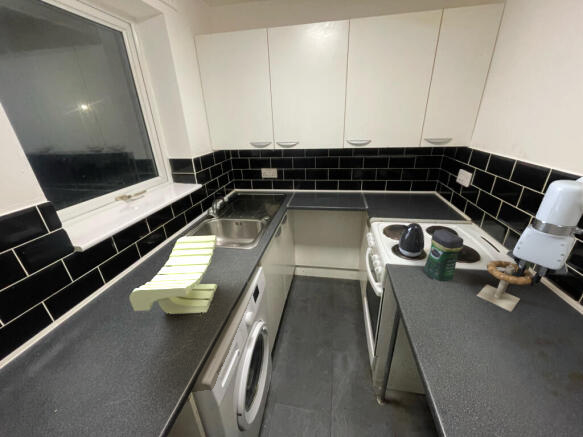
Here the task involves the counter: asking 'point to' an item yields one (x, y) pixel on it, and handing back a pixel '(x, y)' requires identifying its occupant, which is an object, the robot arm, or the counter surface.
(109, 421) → the counter surface
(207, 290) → the slatted lounge chair
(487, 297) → the post
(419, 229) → the black egg shaped dome
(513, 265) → the ring
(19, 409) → the counter surface
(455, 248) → the coffee jar
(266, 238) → the counter surface
